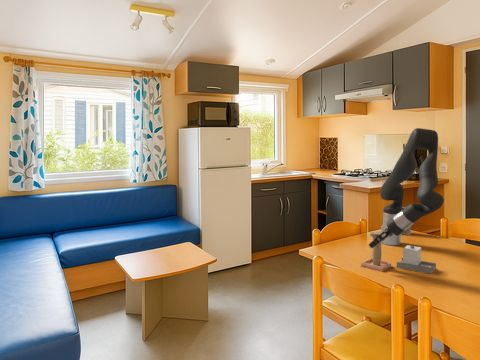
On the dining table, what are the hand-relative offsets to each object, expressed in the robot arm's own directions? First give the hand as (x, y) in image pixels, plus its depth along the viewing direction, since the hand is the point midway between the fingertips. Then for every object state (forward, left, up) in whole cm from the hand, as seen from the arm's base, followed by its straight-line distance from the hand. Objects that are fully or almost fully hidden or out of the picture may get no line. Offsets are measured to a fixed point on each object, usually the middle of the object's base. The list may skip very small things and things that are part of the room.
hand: (373, 244), depth 177 cm
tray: (+1, 0, -10) cm, 10 cm away
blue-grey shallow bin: (+15, +10, -10) cm, 21 cm away
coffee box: (-16, +66, -10) cm, 68 cm away
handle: (+1, 0, -10) cm, 10 cm away
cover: (+13, +10, -8) cm, 19 cm away
